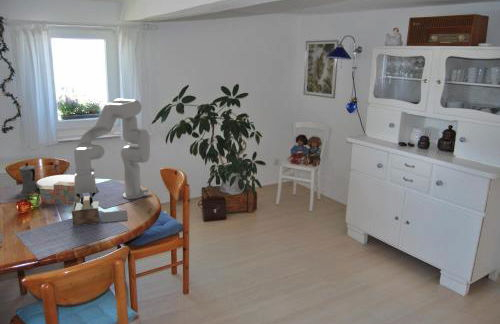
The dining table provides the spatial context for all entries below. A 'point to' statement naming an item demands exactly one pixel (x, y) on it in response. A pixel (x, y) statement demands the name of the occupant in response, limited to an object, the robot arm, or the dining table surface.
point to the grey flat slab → (114, 216)
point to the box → (84, 215)
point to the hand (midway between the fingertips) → (87, 204)
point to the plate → (55, 180)
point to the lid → (87, 204)
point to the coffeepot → (28, 178)
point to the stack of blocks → (59, 193)
